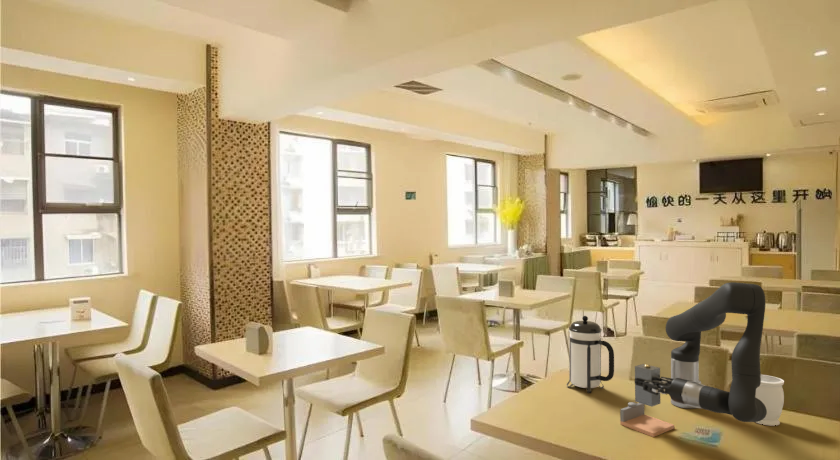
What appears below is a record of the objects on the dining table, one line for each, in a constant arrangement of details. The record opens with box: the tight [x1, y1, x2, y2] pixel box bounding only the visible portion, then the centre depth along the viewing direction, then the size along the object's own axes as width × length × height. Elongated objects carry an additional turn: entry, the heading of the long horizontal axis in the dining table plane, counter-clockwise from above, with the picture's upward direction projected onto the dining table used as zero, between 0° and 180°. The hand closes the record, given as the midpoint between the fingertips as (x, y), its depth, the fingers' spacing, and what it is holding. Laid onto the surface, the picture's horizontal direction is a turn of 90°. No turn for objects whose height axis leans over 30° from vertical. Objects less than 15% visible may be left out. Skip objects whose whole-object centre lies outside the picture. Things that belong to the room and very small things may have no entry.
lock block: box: [634, 363, 661, 407], centre depth 168 cm, size 5×6×13 cm
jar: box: [755, 374, 785, 427], centre depth 172 cm, size 11×10×15 cm
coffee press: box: [566, 315, 615, 394], centre depth 206 cm, size 17×16×30 cm
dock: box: [619, 401, 675, 438], centre depth 168 cm, size 12×13×6 cm
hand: (640, 379), depth 170 cm, fingers closed on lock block, 5 cm apart
